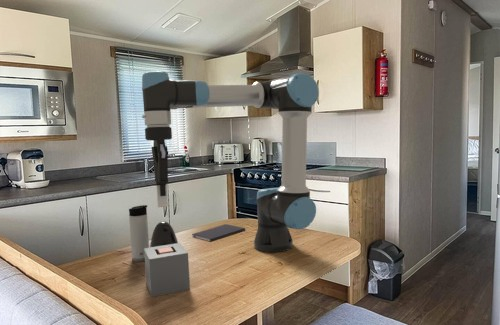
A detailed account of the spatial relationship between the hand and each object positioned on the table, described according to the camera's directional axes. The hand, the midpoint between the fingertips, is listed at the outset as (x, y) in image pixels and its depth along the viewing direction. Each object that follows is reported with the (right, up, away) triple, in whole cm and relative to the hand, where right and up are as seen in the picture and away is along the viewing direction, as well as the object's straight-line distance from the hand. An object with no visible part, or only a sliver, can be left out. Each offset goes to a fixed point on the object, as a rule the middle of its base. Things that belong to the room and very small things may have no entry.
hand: (162, 206), depth 111 cm
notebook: (+12, -20, +58) cm, 63 cm away
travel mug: (-14, -23, +28) cm, 39 cm away
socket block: (+1, -24, +2) cm, 24 cm away
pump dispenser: (-4, -23, +21) cm, 32 cm away
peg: (+1, -23, +2) cm, 23 cm away
